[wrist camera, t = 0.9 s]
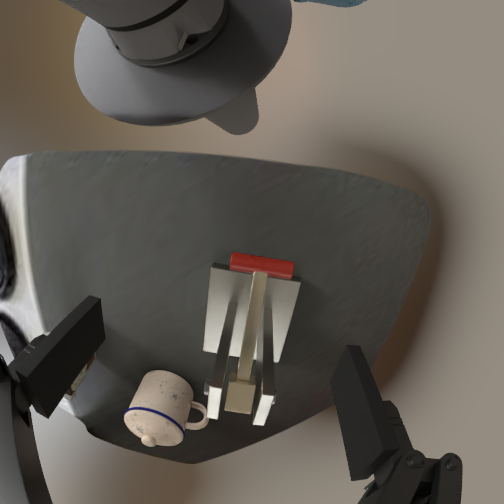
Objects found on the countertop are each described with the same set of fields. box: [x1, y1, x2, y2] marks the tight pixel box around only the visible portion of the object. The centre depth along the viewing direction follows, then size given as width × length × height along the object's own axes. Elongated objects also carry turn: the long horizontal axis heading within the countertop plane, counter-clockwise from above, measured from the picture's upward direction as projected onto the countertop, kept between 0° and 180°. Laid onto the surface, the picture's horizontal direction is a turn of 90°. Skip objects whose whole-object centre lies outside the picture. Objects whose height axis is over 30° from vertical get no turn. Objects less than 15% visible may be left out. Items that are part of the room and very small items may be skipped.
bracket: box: [203, 263, 301, 426], centre depth 27 cm, size 12×10×15 cm
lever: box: [224, 252, 294, 414], centre depth 22 cm, size 13×5×2 cm, turn 171°
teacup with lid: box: [124, 370, 209, 447], centre depth 34 cm, size 12×9×12 cm
